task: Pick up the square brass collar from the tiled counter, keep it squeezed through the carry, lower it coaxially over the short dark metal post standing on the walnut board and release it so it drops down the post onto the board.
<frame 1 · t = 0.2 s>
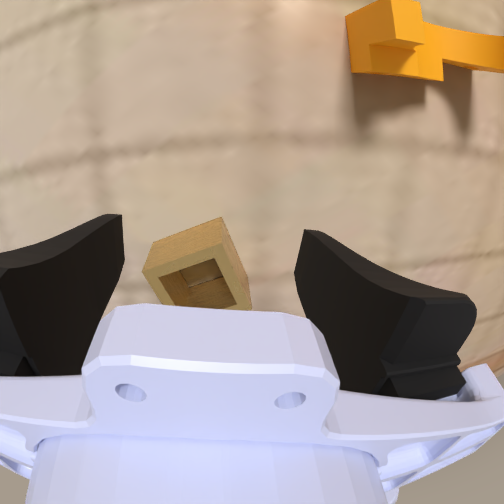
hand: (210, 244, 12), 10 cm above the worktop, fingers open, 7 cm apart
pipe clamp: (416, 53, 17), on the worktop
collar: (201, 260, 23), on the worktop
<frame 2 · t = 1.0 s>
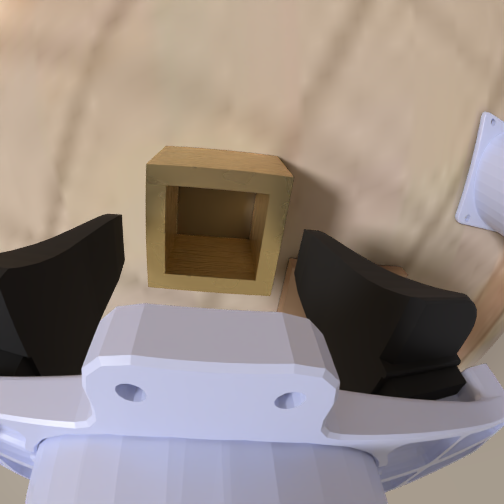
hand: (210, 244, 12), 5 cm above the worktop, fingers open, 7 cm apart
collar: (216, 202, 16), on the worktop
shaft block: (333, 312, 20), on the worktop
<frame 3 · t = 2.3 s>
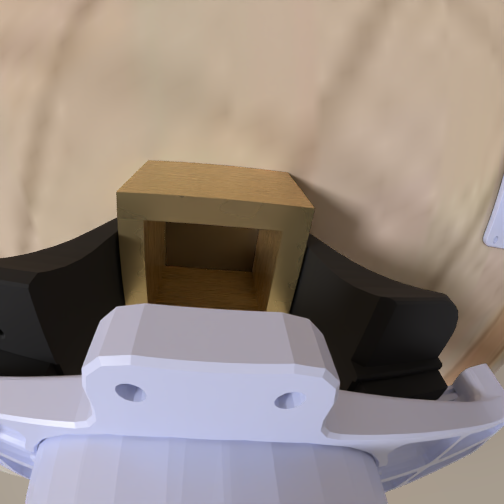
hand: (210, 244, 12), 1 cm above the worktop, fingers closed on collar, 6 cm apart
collar: (211, 229, 13), on the worktop, touching gripper
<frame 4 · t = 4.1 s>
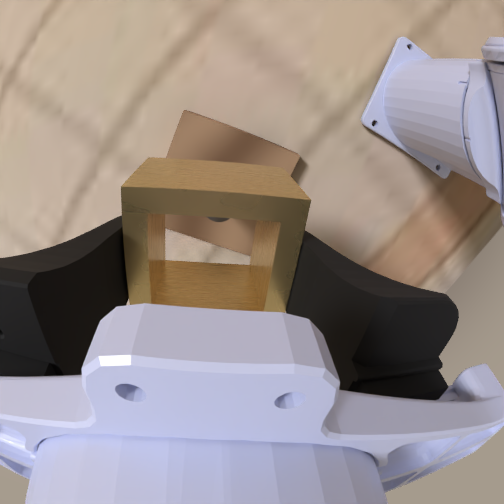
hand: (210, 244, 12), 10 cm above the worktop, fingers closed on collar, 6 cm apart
collar: (210, 223, 13), point 8 cm above the worktop, touching gripper
shaft block: (219, 183, 21), on the worktop
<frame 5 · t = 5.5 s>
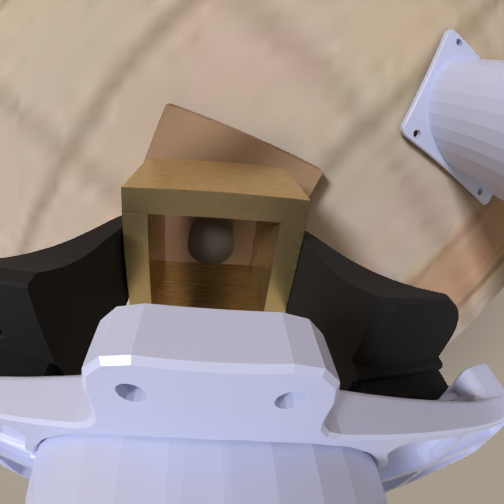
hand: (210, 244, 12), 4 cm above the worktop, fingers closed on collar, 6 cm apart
collar: (210, 224, 13), point 3 cm above the worktop, touching gripper
shaft block: (213, 204, 16), on the worktop
when the fingers open (4 cm above the worktop, at t = 6.5 s): collar drops 2 cm, resting on shaft block.
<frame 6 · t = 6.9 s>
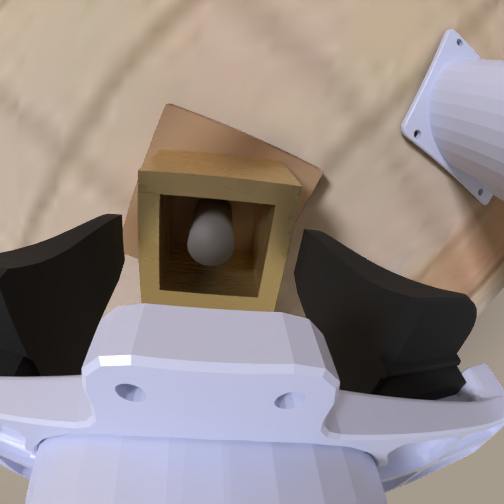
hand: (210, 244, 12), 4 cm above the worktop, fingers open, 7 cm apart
collar: (214, 210, 15), point 1 cm above the worktop, touching shaft block
shaft block: (213, 204, 16), on the worktop
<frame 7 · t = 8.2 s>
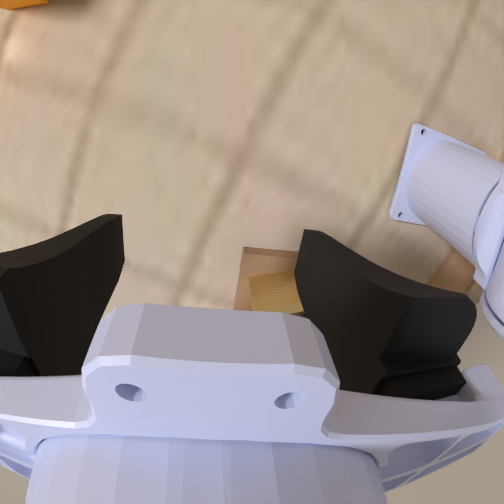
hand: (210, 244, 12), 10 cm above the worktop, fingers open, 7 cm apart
collar: (287, 299, 25), point 1 cm above the worktop, touching shaft block
shaft block: (284, 292, 26), on the worktop
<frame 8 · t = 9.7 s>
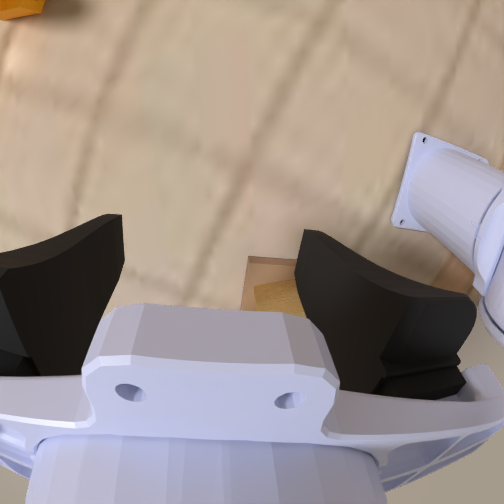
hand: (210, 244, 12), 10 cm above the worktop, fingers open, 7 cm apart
collar: (291, 306, 25), point 1 cm above the worktop, touching shaft block
shaft block: (288, 299, 26), on the worktop
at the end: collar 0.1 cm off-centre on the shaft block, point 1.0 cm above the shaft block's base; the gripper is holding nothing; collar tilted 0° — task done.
